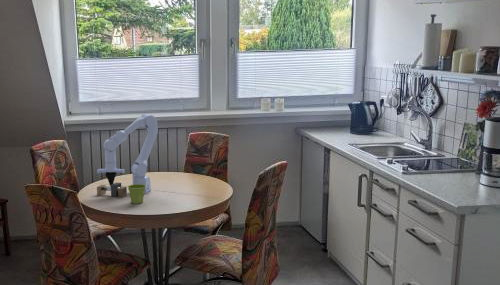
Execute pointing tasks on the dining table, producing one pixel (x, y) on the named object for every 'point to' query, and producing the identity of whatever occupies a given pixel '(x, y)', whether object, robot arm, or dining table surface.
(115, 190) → the gray square nut
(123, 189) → the brown dumbbell
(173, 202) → the dining table surface
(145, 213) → the dining table surface
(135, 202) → the plant pot
